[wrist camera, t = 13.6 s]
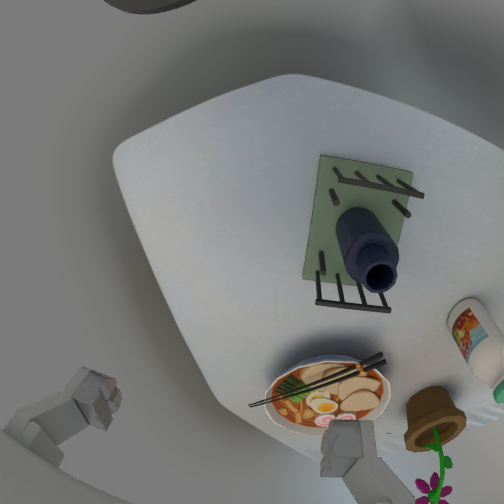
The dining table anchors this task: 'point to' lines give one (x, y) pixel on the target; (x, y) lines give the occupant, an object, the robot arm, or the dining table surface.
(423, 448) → the flowerpot
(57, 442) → the robot arm
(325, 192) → the rack
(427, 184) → the dining table surface
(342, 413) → the ramen bowl
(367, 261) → the bottle
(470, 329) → the milk bottle
